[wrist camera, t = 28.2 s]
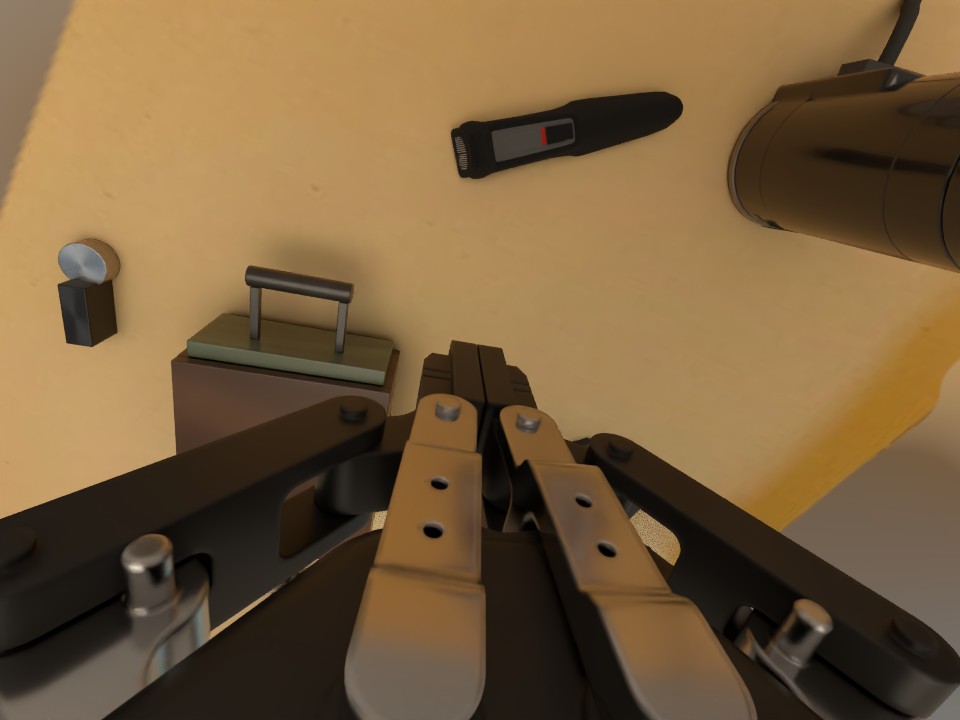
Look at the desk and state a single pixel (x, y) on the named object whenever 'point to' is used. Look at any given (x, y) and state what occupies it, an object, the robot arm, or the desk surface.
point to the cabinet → (254, 401)
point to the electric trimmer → (561, 131)
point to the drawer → (294, 335)
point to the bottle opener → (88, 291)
